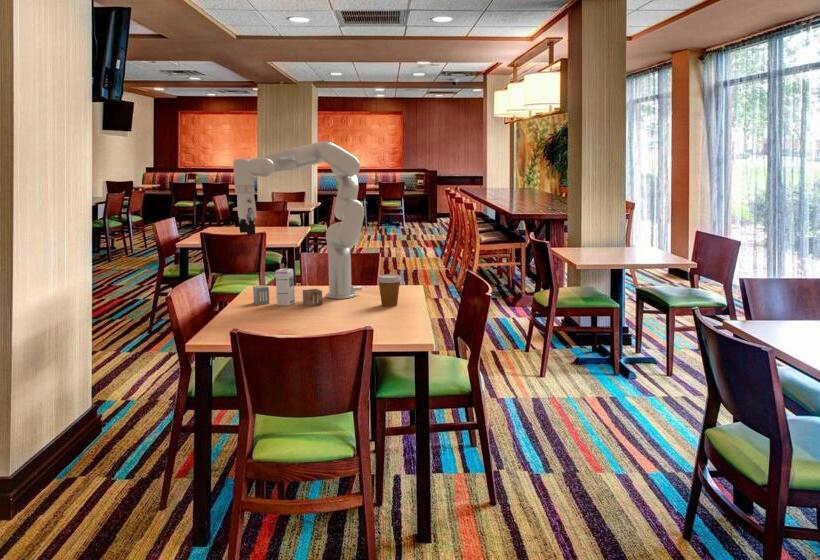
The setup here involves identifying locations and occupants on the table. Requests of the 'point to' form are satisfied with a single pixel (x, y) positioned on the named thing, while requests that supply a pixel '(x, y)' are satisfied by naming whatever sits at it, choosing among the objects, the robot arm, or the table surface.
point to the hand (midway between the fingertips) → (247, 233)
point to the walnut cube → (312, 297)
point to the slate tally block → (261, 295)
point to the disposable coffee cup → (389, 289)
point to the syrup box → (285, 287)
